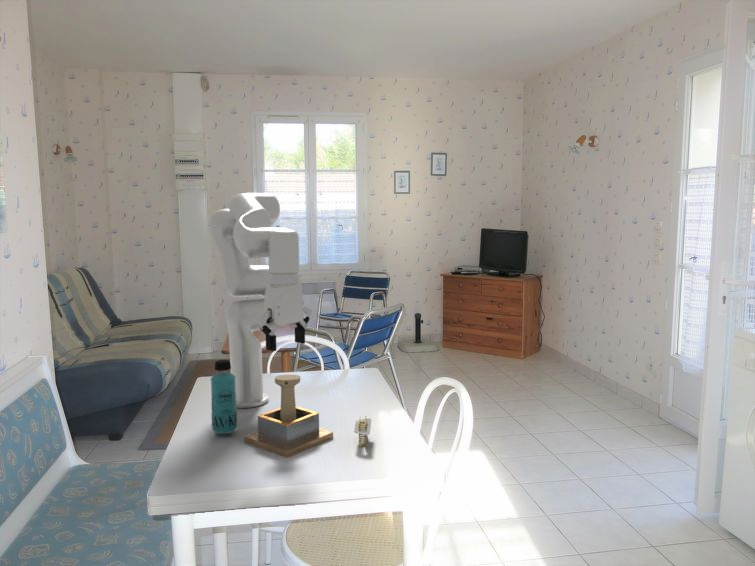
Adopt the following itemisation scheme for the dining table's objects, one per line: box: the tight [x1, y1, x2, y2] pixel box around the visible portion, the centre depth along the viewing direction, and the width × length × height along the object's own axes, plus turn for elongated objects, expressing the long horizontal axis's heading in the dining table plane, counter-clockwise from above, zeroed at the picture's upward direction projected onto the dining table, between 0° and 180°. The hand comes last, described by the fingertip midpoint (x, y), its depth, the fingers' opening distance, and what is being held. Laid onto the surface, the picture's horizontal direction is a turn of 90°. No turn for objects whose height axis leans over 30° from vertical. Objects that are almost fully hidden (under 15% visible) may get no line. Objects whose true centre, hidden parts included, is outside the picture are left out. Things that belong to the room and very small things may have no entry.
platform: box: [353, 415, 372, 450], centre depth 153 cm, size 12×18×7 cm, turn 178°
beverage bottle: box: [210, 359, 238, 434], centre depth 158 cm, size 6×7×20 cm
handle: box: [274, 374, 301, 423], centre depth 155 cm, size 5×6×15 cm
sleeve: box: [243, 406, 334, 458], centre depth 155 cm, size 16×16×7 cm
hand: (285, 346), depth 153 cm, fingers open, 9 cm apart
